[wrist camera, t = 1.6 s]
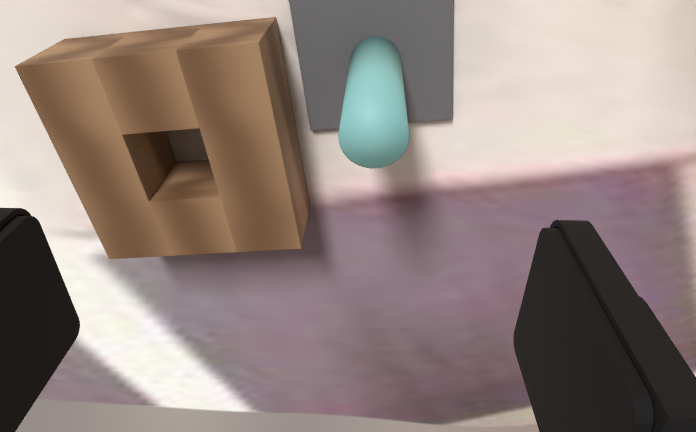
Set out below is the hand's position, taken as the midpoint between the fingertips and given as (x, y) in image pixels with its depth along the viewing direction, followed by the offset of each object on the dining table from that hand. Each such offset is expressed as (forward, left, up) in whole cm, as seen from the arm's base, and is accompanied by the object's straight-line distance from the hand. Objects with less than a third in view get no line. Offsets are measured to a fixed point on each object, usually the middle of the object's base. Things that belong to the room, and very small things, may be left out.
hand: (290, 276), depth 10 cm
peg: (-1, +3, -22) cm, 23 cm away
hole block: (+11, +7, -23) cm, 26 cm away
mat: (-1, +3, -23) cm, 23 cm away
